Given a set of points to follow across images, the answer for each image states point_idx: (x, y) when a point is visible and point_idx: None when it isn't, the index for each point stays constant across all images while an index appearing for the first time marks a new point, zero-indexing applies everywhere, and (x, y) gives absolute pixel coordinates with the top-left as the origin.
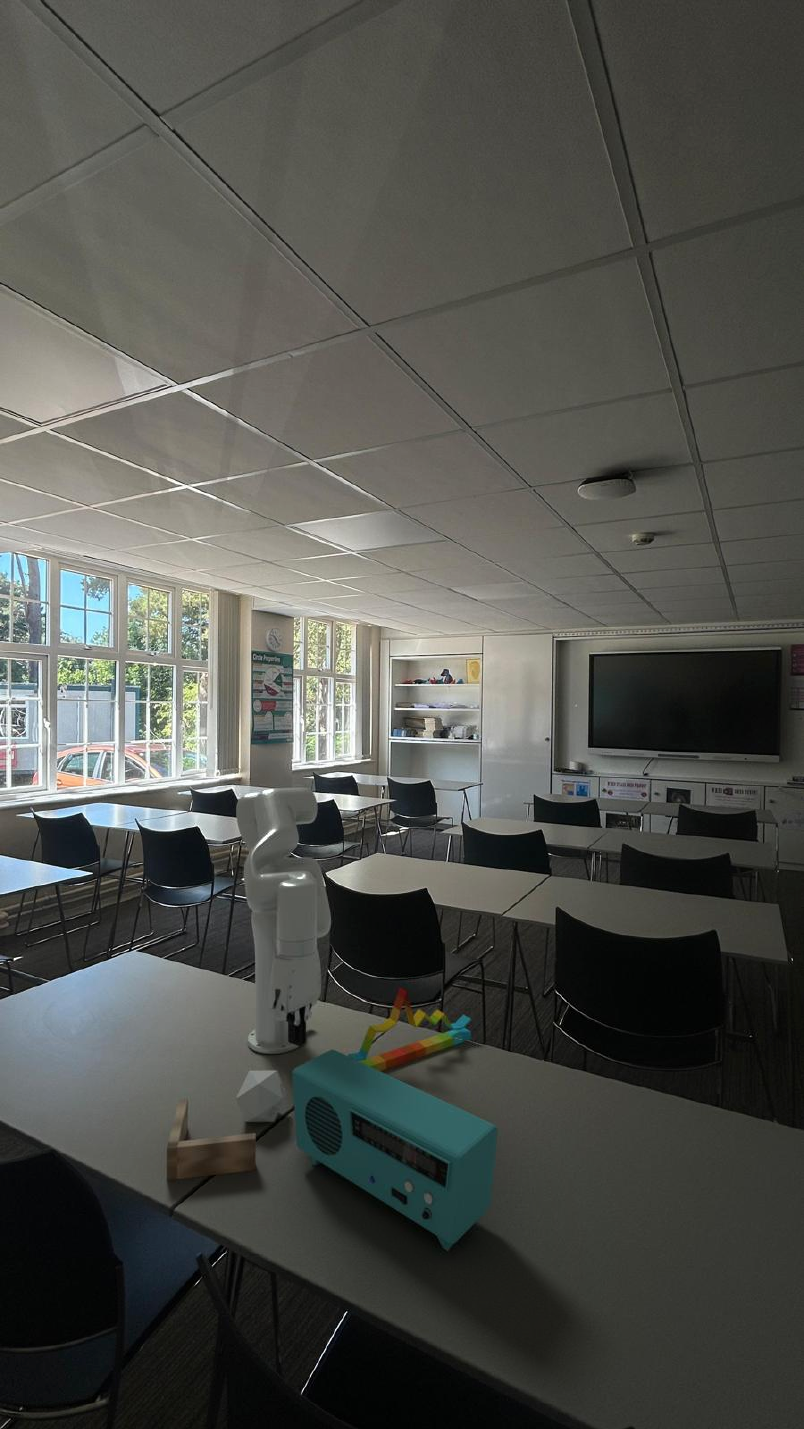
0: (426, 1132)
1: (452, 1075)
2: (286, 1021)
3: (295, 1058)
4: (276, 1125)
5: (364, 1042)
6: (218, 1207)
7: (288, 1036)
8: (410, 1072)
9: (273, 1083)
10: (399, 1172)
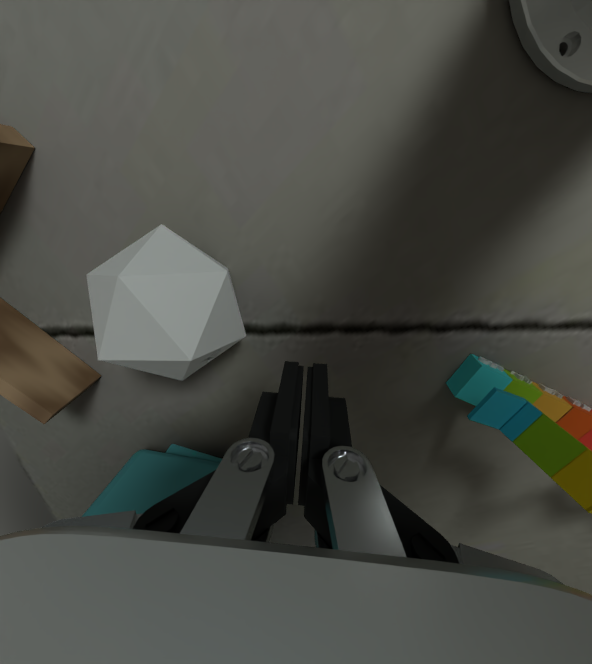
0: None
1: (538, 523)
2: (231, 453)
3: (511, 150)
4: None
5: (557, 436)
6: None
7: (283, 375)
8: (526, 464)
9: (161, 368)
10: None
